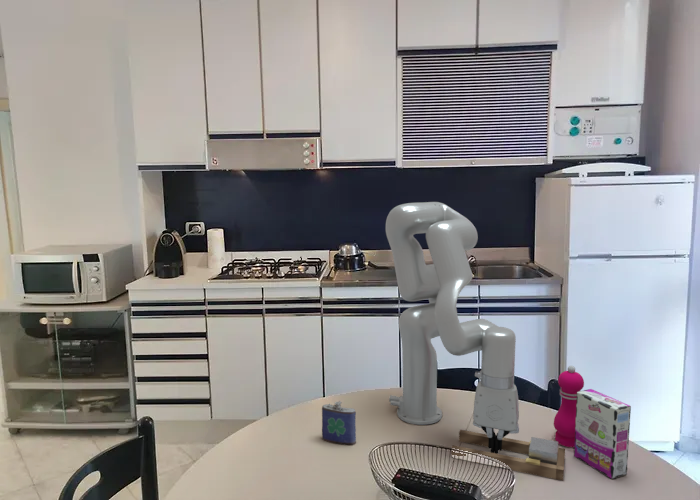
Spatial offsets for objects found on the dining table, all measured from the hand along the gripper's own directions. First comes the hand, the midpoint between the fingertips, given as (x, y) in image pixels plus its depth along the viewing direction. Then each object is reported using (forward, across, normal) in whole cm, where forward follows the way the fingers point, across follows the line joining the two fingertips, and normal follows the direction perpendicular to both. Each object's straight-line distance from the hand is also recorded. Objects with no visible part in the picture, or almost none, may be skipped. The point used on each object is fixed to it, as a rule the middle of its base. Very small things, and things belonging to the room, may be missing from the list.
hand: (494, 451), depth 127 cm
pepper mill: (+1, +16, +14) cm, 21 cm away
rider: (+1, +11, 0) cm, 11 cm away
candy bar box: (+1, +23, +5) cm, 24 cm away
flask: (+2, -38, -8) cm, 39 cm away
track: (+1, +3, 0) cm, 3 cm away
